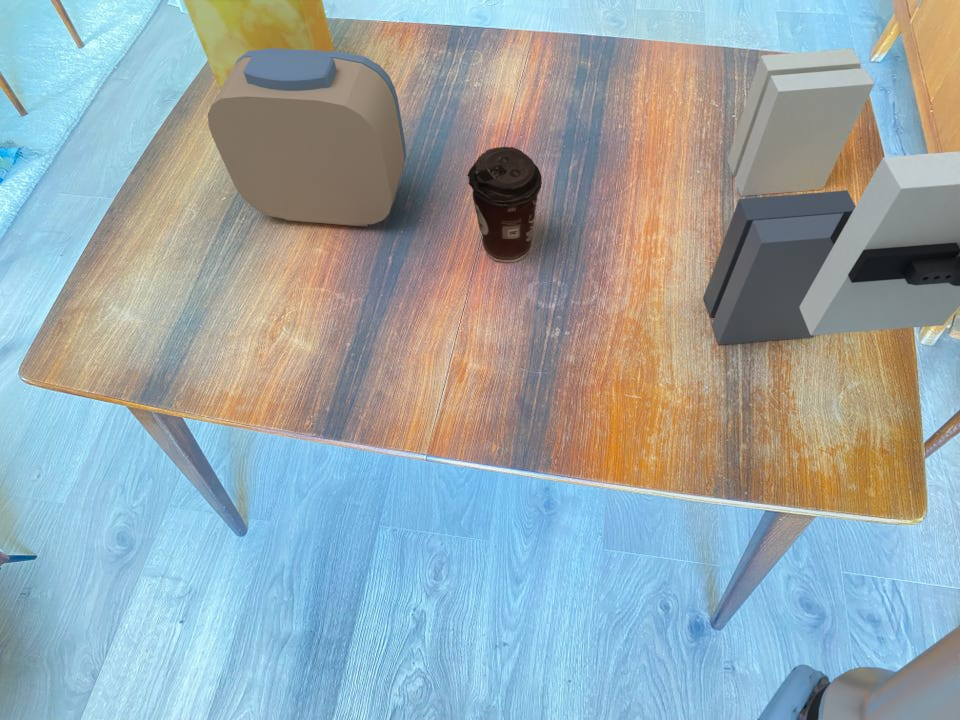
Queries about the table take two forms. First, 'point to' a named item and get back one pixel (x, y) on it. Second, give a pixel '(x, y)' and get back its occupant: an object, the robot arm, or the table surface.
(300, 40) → the yellow marbled panel
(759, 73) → the white books
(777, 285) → the grey books
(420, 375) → the table surface
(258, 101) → the alarm clock
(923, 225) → the white book
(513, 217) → the coffee cup
